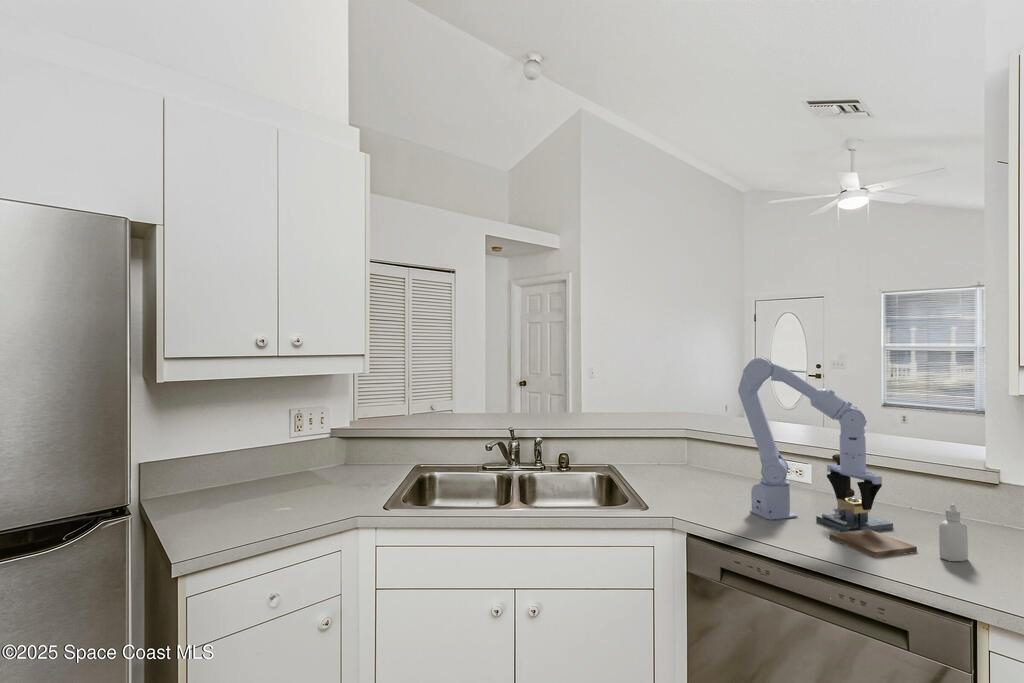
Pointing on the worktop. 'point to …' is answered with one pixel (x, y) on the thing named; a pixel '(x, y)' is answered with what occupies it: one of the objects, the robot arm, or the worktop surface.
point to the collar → (851, 505)
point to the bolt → (849, 491)
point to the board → (873, 543)
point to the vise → (853, 521)
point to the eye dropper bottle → (953, 536)
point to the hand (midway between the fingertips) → (853, 505)
